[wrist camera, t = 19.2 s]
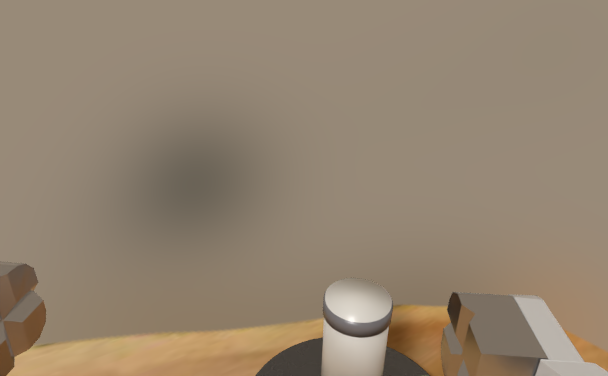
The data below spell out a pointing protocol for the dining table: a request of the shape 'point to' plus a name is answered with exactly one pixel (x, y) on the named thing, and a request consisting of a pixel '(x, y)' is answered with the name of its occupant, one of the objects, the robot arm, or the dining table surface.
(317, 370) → the base
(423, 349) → the dining table surface
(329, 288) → the white lidded container
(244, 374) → the dining table surface
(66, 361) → the dining table surface
